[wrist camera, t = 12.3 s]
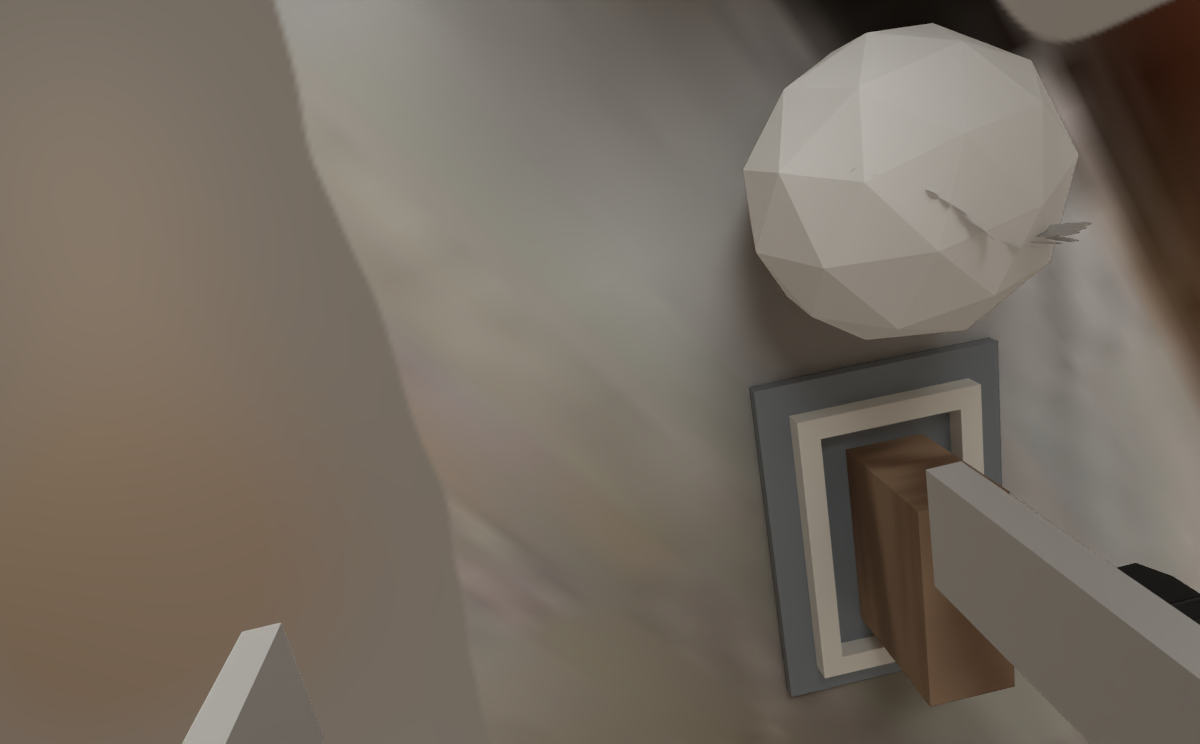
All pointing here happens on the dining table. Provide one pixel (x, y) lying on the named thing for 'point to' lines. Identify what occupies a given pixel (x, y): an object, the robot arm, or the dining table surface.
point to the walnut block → (913, 574)
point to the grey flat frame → (821, 490)
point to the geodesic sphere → (910, 183)
